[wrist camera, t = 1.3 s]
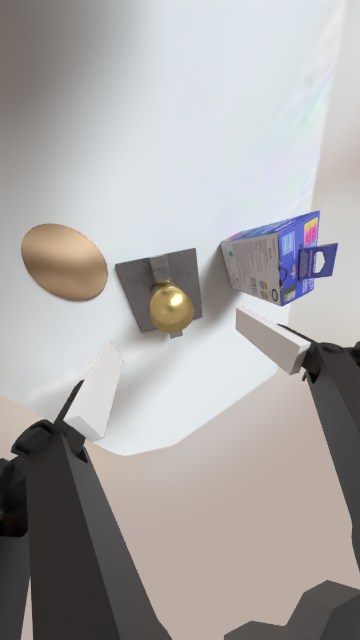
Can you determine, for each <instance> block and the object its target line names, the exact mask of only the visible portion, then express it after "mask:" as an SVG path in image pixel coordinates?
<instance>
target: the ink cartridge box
mask: <svg viewBox="0 0 360 640" xmlns="http://www.w3.org/2000/svg"><path fill="white" fill-rule="evenodd" d="M319 214H320V211H315V212H312V213H308V214H305V215H301V216H298V217H294V218H291V219H287V220H284V221H280V222H276V223H273V224H269V225H265V226H262V227H258V228H254V229H250V230H246V231H242V232H239V233H237V234H236V235H234V236H232V237H230V238H228V239H226V240H224V241H222V242H221V248H222V252H223V256H224V260H225V264H226V267H227V271H228V275H229V279H230V283H231V286H232V288H233V289H236V290H239V291H242V292H244V293H247V294H249V295H252V296H255V297H258V298H260V299H263V300H265V301H268V302H271V303H273V304H276V305H279V306H284V305H286V304H288V303H290V302H292V301H293V300H295V299H297V298H299V297H301V296H303V295H305V294H307V293H309V292H310V291H312V290H313V289H314V278H320V277H328V276H332V272H333V267H334V262H335V257H336V251H337V246H338V243H334V244H328V245H321V246H317V238H318V226H319ZM318 251H321V252H323V255H324V259H325V264H324V266H323V268H322V269H321V271H320V272H319V273H315V263H316V252H318Z"/></svg>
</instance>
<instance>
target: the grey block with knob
mask: <svg viewBox="0 0 360 640" xmlns="http://www.w3.org/2000/svg"><path fill="white" fill-rule="evenodd" d="M115 266H116V269H117V271H118V274H119V277H120V279H121V282H122V284H123V287H124V289H125V292H126V294H127V297H128V299H129V302H130V304H131V307H132V309H133V312H134V314H135V317H136V319H137V322H138V324H139V327H140V329H141V332H142V333H144V332H148V331H151V330H155V329H158V328H157V327H156V326H155V325H154V324H153V322H152V320H151V317H150V294H151V291H152V289H153V288H154V287H155V286H156V285H157V284H158V282H163V281H167V280H169V282H173V283H175V284H177V285H178V286H179V287H180V288H181V290H182V291H183V292H184V293H185V294H186V295H187V296H188V297H189V299H190V300H191V301H192V303H193V306H194V316H193V319H197V318H201V317H202V307H201V297H200V287H199V277H198V267H197V257H196V248H192V249H187V250H182V251H177V252H172V253H168V254H163V255H158V256H153V257H148V258H143V259H138V260H133V261H129V262H124V263H119V264H115ZM193 319H192V320H193ZM169 334H170V338H175V337H179V336H182V335H183V333H182V330H181V331H178V332H173V333H169Z"/></svg>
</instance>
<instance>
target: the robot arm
mask: <svg viewBox="0 0 360 640" xmlns="http://www.w3.org/2000/svg"><path fill="white" fill-rule="evenodd" d="M236 330H237V331H238V332H240V333H241V334H242V335H243V336H244V337H245V338H247V339H248V340H249V341H250V342H251V343H252V344H254V345H255V346H256V347H257V348H258V349H259V350H261V351H262V352H263V353H264V354H265V355H267V356H268V357H269V358H270V359H271V360H272V361H274V362H275V363H276V364H277V365H278V366H279V367H281V368H282V369H283V370H284V371H285V372H287V373H288V374H289V375H293V374H295V373H299V371H300V369H301V366H302V367H303V368H305V369H306V371H305V373H304V375H303V378H302V381H305V378H307V382H308V384H309V387H310V390H311V394H312V397H313V400H314V403H315V406H316V409H317V412H318V416H319V419H320V422H321V425H322V428H323V431H324V434H325V437H326V441H327V444H328V447H329V450H330V453H331V456H332V460H333V463H334V466H335V469H336V472H337V475H338V479H339V482H340V485H341V488H342V491H343V494H344V498H345V501H346V504H347V507H348V510H349V513H350V517H351V520H352V545H353V549H354V553H355V557H356V560H357V564H358V567H359V571H360V341H359V342H357V343H356V345H355V346H354V347H350V348H342V347H340V346H338V345H335V344H332V343H324V342H323V343H317V342H315V341H313V340H311V339H310V338H308V337H306V336H304V335H302V334H300V333H297V332H296V331H294V330H292V329H290V328H288V327H286V326H284V325H280V324H275V323H273V322H271V321H270V320H268V319H266V318H264V317H262V316H260V315H258V314H257V313H255V312H253V311H251V310H249V309H247V308H245V307H244V306H242V307H238V308H236ZM123 361H124V360H123V359H122V357H121V355H120V353H119V351H118V350H117V348H116V346H115V344H114V342H113V341H109V342H105V343H104V345H103V346H102V348H101V350H100V352H99V354H98V356H97V358H96V360H95V361H94V363H93V365H92V367H91V369H90V371H89V373H88V375H87V376H86V378H85V380H81V381H80V382H79V383H78V384H77V385H76V386H75V388H74V389H73V391H72V393H71V394H70V396H69V398H68V399H67V402H66V403H65V405H64V406H63V408H62V410H61V412H60V413H59V415H58V417H57V418H56V420H55V422H54V424H52V423H51V422H50V421H48V420H40V421H38V422H36V423H35V424H33V425H31V426H30V427H29V428H28V429H26V430H25V431H24V432H23V433H22V434H21V435H20V436H19V437H18V439H17V440H16V441H15V443H14V445H13V446H12V449H11V452H12V453H14V454H17V455H18V456H17V457H15V458H14V459H12V460H10V461H8V460H6V459H4V458H2V459H0V640H21V633H22V626H23V619H24V612H25V606H26V599H27V592H28V586H29V579H30V578H31V600H32V620H33V621H32V622H33V640H172V639H171V637H170V635H169V634H168V632H167V630H166V629H165V628H164V627H163V626H162V624H161V623H160V622H159V621H158V619H157V617H156V615H155V613H154V610H153V608H152V606H151V603H150V601H149V598H148V597H147V594H146V591H145V589H144V586H143V584H142V582H141V579H140V577H139V574H138V572H137V570H136V567H135V565H134V563H133V560H132V558H131V555H130V553H129V551H128V548H127V546H126V543H125V541H124V539H123V536H122V534H121V531H120V529H119V527H118V524H117V522H116V519H115V517H114V515H113V512H112V510H111V508H110V505H109V503H108V500H107V498H106V496H105V493H104V491H103V488H102V486H101V484H100V481H99V479H98V477H97V474H96V472H95V469H94V467H93V464H92V462H91V460H90V457H89V455H88V453H87V450H86V448H85V447H84V446H83V444H84V442H85V439H87V440H89V441H90V442H93V441H96V440H99V439H102V438H104V434H105V431H106V427H107V423H108V419H109V415H110V411H111V407H112V403H113V400H114V396H115V392H116V388H117V384H118V380H119V376H120V372H121V369H122V365H123ZM224 640H360V590H358V589H355V588H352V587H349V586H345V585H342V584H339V583H336V582H332V581H329V580H326V581H325V582H323V583H321V584H319V585H317V586H315V587H313V588H311V589H310V590H308V591H306V592H304V593H303V595H302V597H301V599H300V601H299V603H298V604H297V606H296V608H295V610H294V612H293V614H292V615H291V618H290V619H289V621H288V623H287V624H286V625H285V626H279V625H273V624H267V623H262V622H256V621H250V622H248V623H246V624H244V625H242V626H240V627H238V628H237V629H235V630H233V631H231V632H229V633H227V634H226V635H224Z"/></svg>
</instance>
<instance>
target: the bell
mask: <svg viewBox="0 0 360 640" xmlns="http://www.w3.org/2000/svg"><path fill="white" fill-rule="evenodd" d="M193 316H194V306H193V303H192V301H191V300H190V299H189V297H188V296H187V295H186V294H185V293H184V292H183V291H182V290H181V288H180V287H179V286H178V285H177V284H175V283H173V282H169V280H167V281H163V282H158V284H157V285H156V286H155V287H154V288H153V289H152V291H151V294H150V317H151V320H152V322H153V324H154V325H155V326H156V327H157V328H158V329H159V330H161V331H164V332H169V333H173V332H178V331H181V330H183V329H184V328H186V327H187V326H188V325H189V324H190V322H191V321H192V319H193Z"/></svg>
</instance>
